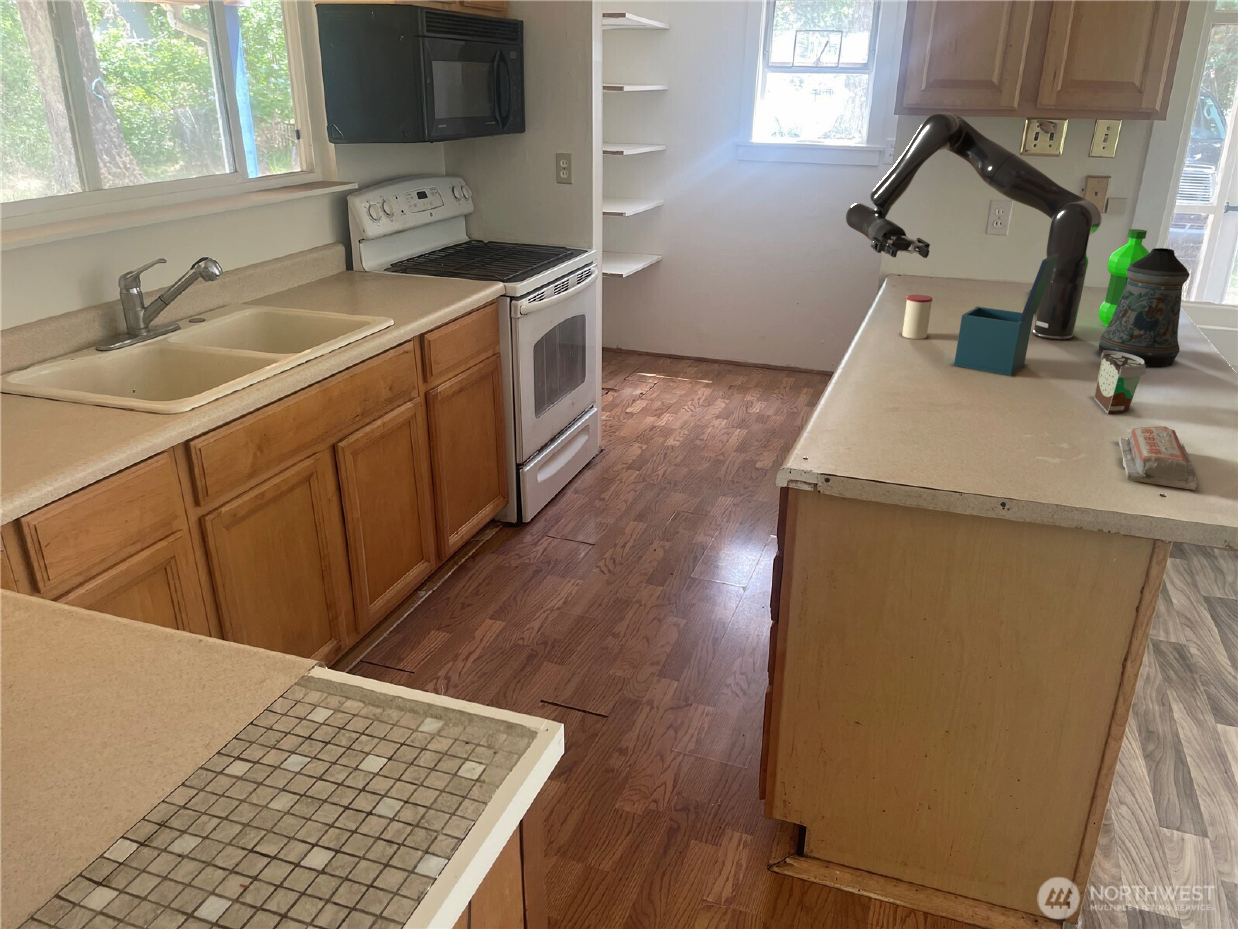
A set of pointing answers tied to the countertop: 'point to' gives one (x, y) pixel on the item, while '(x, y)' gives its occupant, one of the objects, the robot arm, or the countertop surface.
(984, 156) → the robot arm
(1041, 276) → the cool box lid
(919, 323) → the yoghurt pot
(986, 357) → the cool box
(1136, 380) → the food container
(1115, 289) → the plastic bottle
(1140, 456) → the packaged product
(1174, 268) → the beer stein
